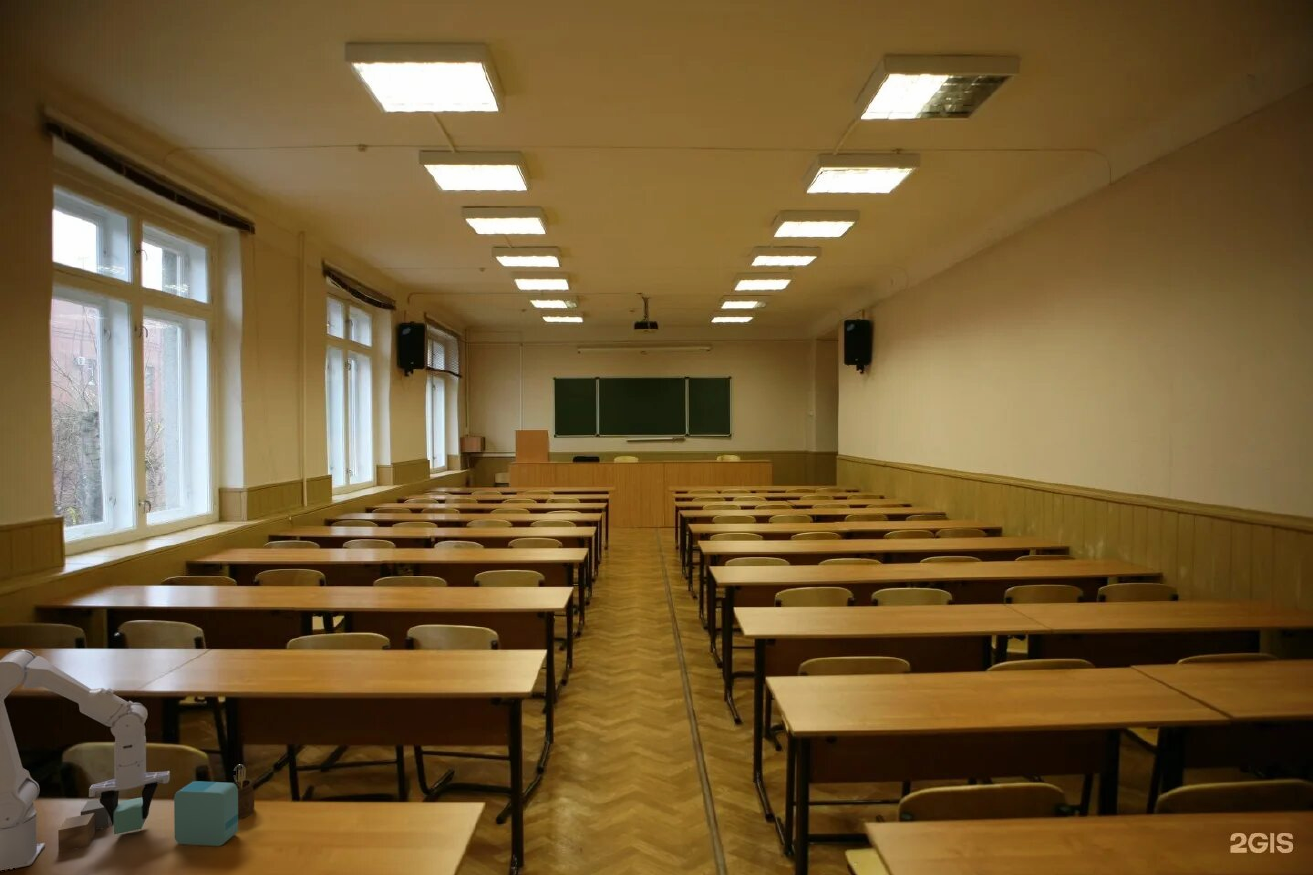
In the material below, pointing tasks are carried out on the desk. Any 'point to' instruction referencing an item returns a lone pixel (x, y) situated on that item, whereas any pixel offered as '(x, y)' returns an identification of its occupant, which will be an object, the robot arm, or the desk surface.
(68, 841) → the walnut block
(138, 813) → the teal block
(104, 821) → the charcoal block
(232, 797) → the data package
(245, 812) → the utensil holder
